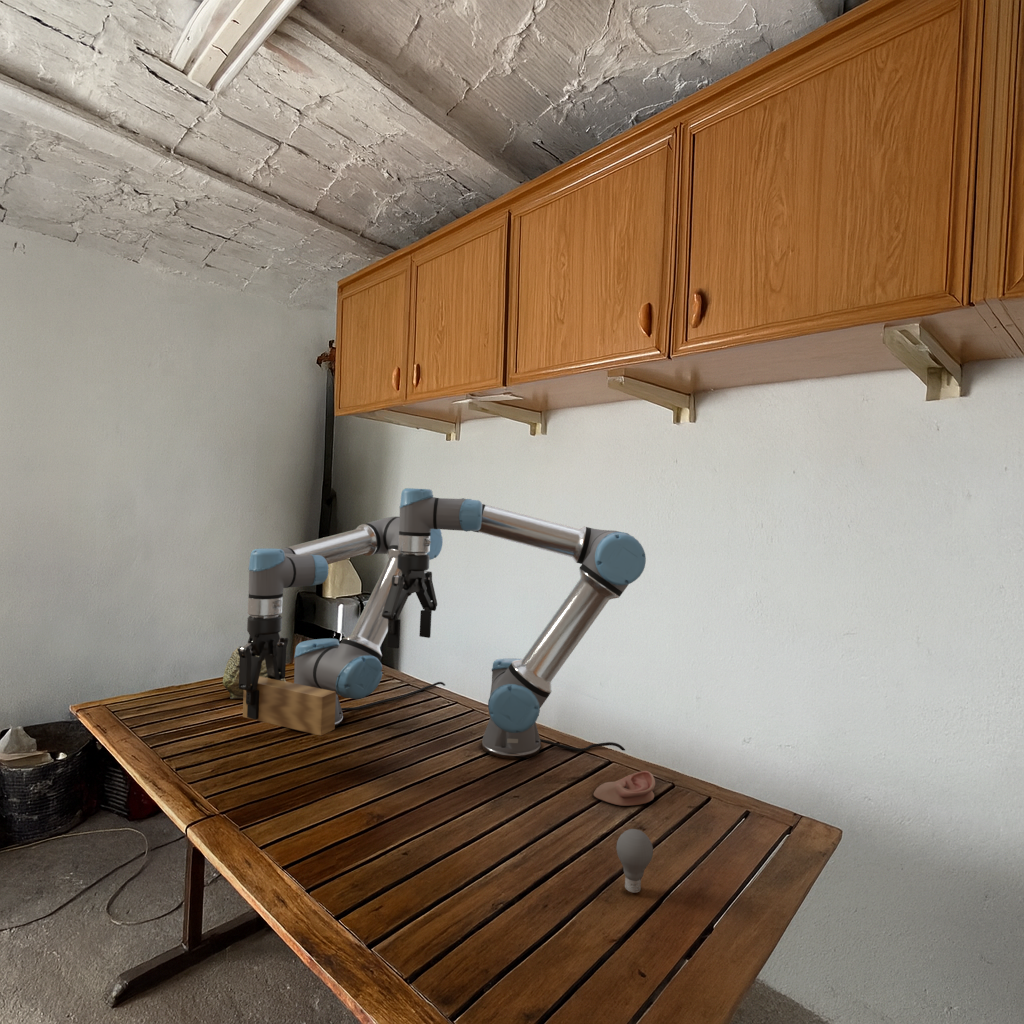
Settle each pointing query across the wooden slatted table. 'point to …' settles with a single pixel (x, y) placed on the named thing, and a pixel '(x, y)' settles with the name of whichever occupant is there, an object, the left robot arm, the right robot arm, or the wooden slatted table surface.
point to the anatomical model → (628, 790)
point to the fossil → (233, 675)
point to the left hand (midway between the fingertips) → (261, 714)
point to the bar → (295, 706)
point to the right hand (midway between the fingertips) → (409, 642)
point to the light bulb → (634, 857)
